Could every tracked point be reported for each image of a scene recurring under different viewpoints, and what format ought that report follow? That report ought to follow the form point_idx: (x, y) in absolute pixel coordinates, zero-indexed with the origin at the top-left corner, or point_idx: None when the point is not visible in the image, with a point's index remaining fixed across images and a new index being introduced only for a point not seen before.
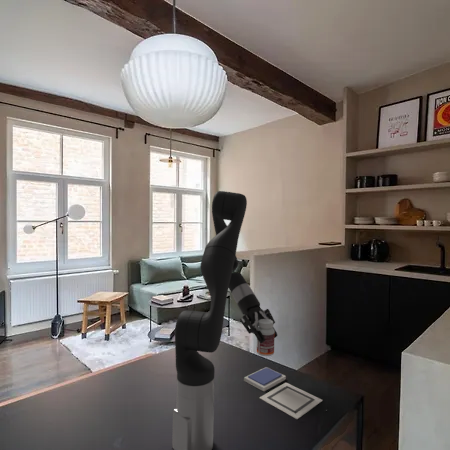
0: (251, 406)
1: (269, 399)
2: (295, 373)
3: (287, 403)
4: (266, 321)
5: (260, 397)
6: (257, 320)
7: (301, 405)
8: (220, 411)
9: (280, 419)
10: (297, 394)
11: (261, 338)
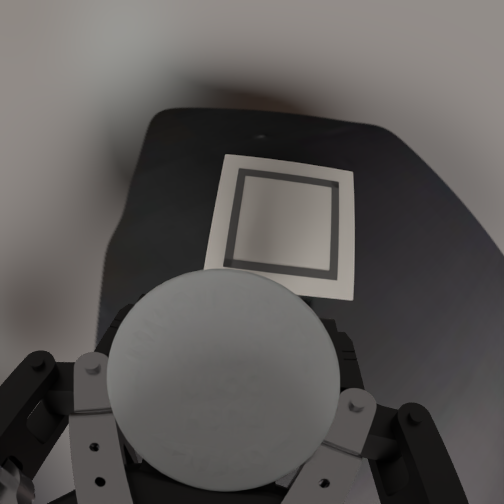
0: (398, 291)
1: (338, 269)
2: (115, 288)
3: (315, 217)
4: (218, 375)
5: (350, 297)
6: (313, 482)
7: (294, 183)
8: (461, 335)
9: (382, 203)
10: (248, 216)
11: (340, 341)
